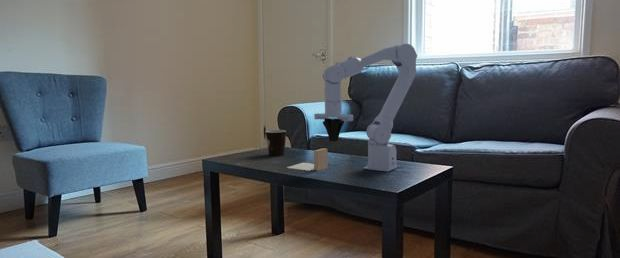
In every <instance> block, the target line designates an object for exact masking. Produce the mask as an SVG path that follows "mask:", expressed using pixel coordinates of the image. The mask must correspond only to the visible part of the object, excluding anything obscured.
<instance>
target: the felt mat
mask: <svg viewBox="0 0 620 258" xmlns="http://www.w3.org/2000/svg"><path fill="white" fill-rule="evenodd" d="M286 169H289V170H290V169H291V170H296V171H297V170H298V171H304V170H305V172H311V170H312V171H314V163H309V162H300V163H297V164H293V165H291V166H290V165H289V166H286Z"/></svg>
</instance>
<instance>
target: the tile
mask: <svg viewBox="0 0 620 258" xmlns="http://www.w3.org/2000/svg"><path fill="white" fill-rule="evenodd" d="M328 158H329V157H328V148H319V149H315V150H313V164H314V170H316V172H319V170H320V171H322V169H323V170H325V168H326V169H328V165H329V163H328V160H329V159H328ZM314 170H313V171H314Z"/></svg>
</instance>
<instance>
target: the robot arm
mask: <svg viewBox="0 0 620 258" xmlns="http://www.w3.org/2000/svg"><path fill="white" fill-rule="evenodd" d="M417 58H418V54H417V51H416V50H415V48H414V45H412V44H409V43H403V44H399V45H398V44H396V45H393V46H390V47H384V48H381V49H379V50H377V51H375V52H372V53H370V54H368V55H365V56H363V57H360V58H359V57H357V56H354V57H353V56H347V59H346V60H343V61H340V62H335V63H334V65H332V66H331V65H330V66H328V67H326V68H325V69H324V70H323V74H322V78H323V80H324V113H314V115H313V116H314V117H313V118H314V120H324V121H322V124H323V126H324V128H325V130H326V133H327V135H328V136H327V137H328V139H329V142H338V141H339V138H340V137H339V136H340V133H341V130H342V128H343V125H344V124H345V121H346V122H353V121H354V115H353V114H347V113H346V114H345V113H343V111H342V109H343V107H342V106H343V105H342V104H343V102H342V100H343V99H342V80H345V79H348V78H350V77H353V76H355V75H358V74H360V73H362V72H363V69H364V68H365V67H367V66H371V65H372V64H375V63H379V62H381V61H391V62H392V63H393V65H394V66H396V69H397V71H398V77H397V78H396V80H395V83H394V84H393V86H392V88H391V91H390V92H389V94H388V96H387V98H386V100H385V102H384V104H383V106H382V108H381V110H380V112H379V114H378V115H377V116H376V117H375V118H374V120H373V121H372V123H371V124H368V126H367V127H366V131H365V133H366V136H367V138H368V141H367V150H368V151H367V153H368V154H367V165H366V166H364V167H363V169H364V170H371V171H381V172H391V171H392V170H395V169H397V168H398V165H397V147H396V145H394V144H392V143H390V140H391V138H392V129H393V128H394V119H395V117H396V115H397V113H398V112H399V110H400V107H401V105H402V104H403V102H404V99H405V97H406V96H407V94H408V92H409V90H410V88H411V85H412V83H413V81H414V80H415V77H416V75H417Z"/></svg>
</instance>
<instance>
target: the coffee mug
mask: <svg viewBox="0 0 620 258" xmlns="http://www.w3.org/2000/svg"><path fill="white" fill-rule="evenodd" d="M265 136H266V144H267V150H268V156H269V157H283V156H285V153H286V152H285V151H286V139H287V130H284V129H271V130H270V129H269V130H266V131H265Z"/></svg>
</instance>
